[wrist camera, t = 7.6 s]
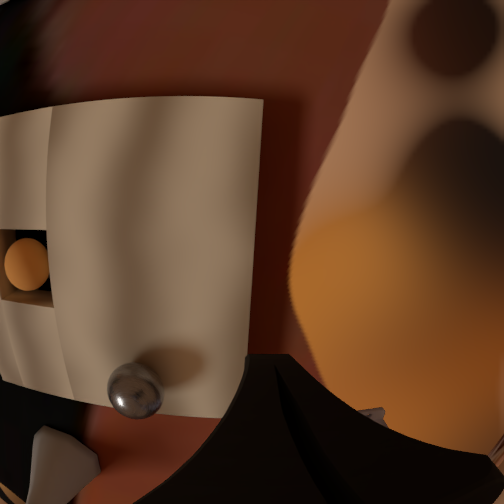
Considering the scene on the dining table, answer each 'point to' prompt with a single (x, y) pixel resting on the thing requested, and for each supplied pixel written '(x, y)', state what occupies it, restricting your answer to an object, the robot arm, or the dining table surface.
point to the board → (133, 245)
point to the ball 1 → (27, 264)
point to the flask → (59, 467)
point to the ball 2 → (135, 390)
